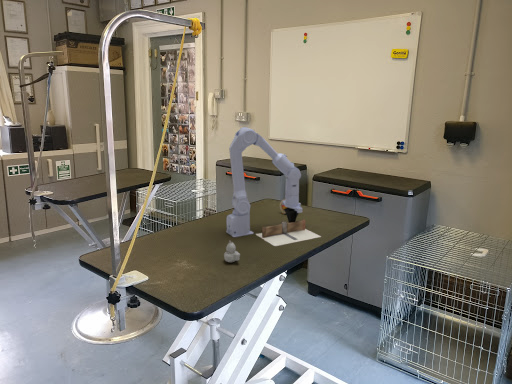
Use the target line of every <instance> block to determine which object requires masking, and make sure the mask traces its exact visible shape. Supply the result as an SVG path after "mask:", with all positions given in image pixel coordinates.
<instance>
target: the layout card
mask: <svg viewBox="0 0 512 384" xmlns="http://www.w3.org/2000/svg"><path fill="white" fill-rule="evenodd" d="M255 235H256V236H257V237H259V238H260V239H262V240H264V241H265V242H266V243H268V244H270V245H272V246H274V247H278V246H284V245H287V244H288V245H289V244H292V243H294V244H295V243H298V242H302V241H308V240H312V239H317V238H321V237H322V236H321V235H319V234H317V233H315V232H313V231H310V230H308V229H307V228H305V230H298V231H292V232H287V233H286V234H276V235H271V236H266V238H262V232H261V233H255Z"/></svg>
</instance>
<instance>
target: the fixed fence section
mask: <svg viewBox="0 0 512 384" xmlns="http://www.w3.org/2000/svg"><path fill="white" fill-rule="evenodd" d="M287 223H288V221H282V222H281V223H280V224H275V225H270V226H262V227H261V233H262V238H266V236H271V235H276V234H286V233H287ZM262 238H261V239H262Z"/></svg>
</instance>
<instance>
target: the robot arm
mask: <svg viewBox="0 0 512 384" xmlns="http://www.w3.org/2000/svg"><path fill="white" fill-rule="evenodd" d="M252 145H254V146H257V147H259V148H260V149H262V150H263V152H264V153H265V154H267V155H268V156H269V157H270V158H271V163H272V164H273V165H274V166H275V167H276V169H278V170H279V172H281V173H282V174H283V176H284V177H285V183H284V184H285V185H284V186H285V189H284V191H285V192H284V196H285V197H284V199H285V200H284V201H282V200H281V201H282V205H285V207H287V208H285V209H284V211H285V214H286V218H287V223H291V222H297V217H298V215H299V214H300V213H301V214H302V213H303V207H302V206H301V205H302V203H301V202H299V201H300V197H299V196H300V195H299V194H300V179H301V177H302V173H301V171H300V169H299V168H298V167H296V166H295V163H294V162H292V161H291V160H289V158H287V157H288V156H287V155H286V153H282V152H281V153H280V152H277V151H276V150H275V148H273V147H272V145H271V144H270V143H268V141H267V140H266V139H265V138H264V137H263V136H262V135H260V134H259V133H258V132H256V131H255V129H252V128H249V127H246V126H243V127H240V128H239V129H238V130H237V131H236V132H235V134H234V137H233V139H232V141H231V144H230V145H229V149H228V150H229V152H228V153H229V158H230V159H229V160H230V161H229V162H230V168H231V177H232V178H231V179H232V187H233V193H232V195H233V196H232V199H231V205H232V207H233V210H232V213H230V214H227V216H226V231H225V233H227V234H228V235H229V236H231V237H233V238H239V237H242V236H244V237H245V236H249V235H254V234H255V233H254V231H252V230H251V223H250V222H251V220H250V219H251V215H250V214H251V213H250V210H251V203H250V202H249V200H248V194H247V190H246V183H245V171H244V162H243V161H244V160H243V155H242V154H243V152H244V151H245V150H246V149H247V148H248V147H250V146H252Z"/></svg>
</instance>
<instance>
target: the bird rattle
mask: <svg viewBox="0 0 512 384" xmlns="http://www.w3.org/2000/svg"><path fill="white" fill-rule="evenodd" d="M284 200H285V198H284V199H282V200H281V201H280V203H279V210H280V211H281V213H282V215H285V214H286V213H285V211H284V209H285V208H287V207H285V205H282V201H284Z"/></svg>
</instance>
